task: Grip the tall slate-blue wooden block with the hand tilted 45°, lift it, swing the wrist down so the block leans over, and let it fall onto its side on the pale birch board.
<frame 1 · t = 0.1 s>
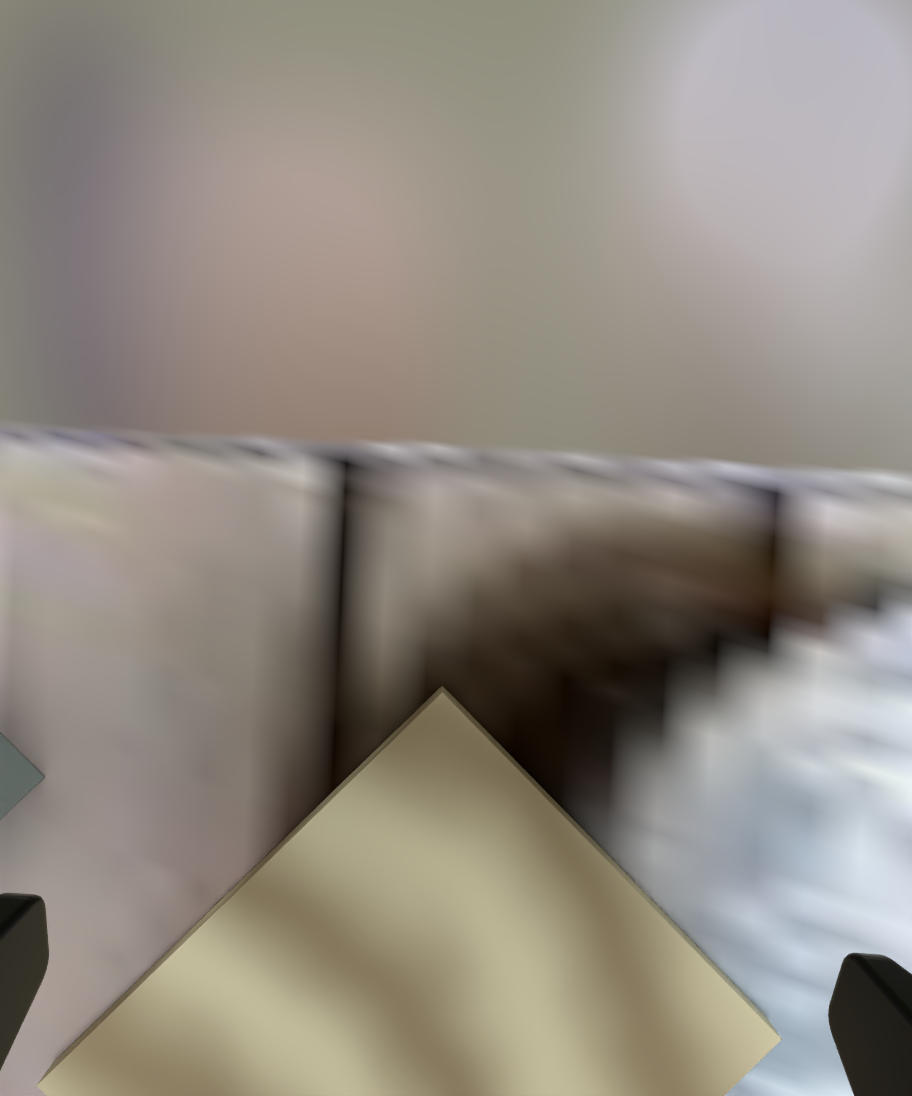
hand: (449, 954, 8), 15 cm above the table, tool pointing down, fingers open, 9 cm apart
birch board: (415, 1039, 23), on the table
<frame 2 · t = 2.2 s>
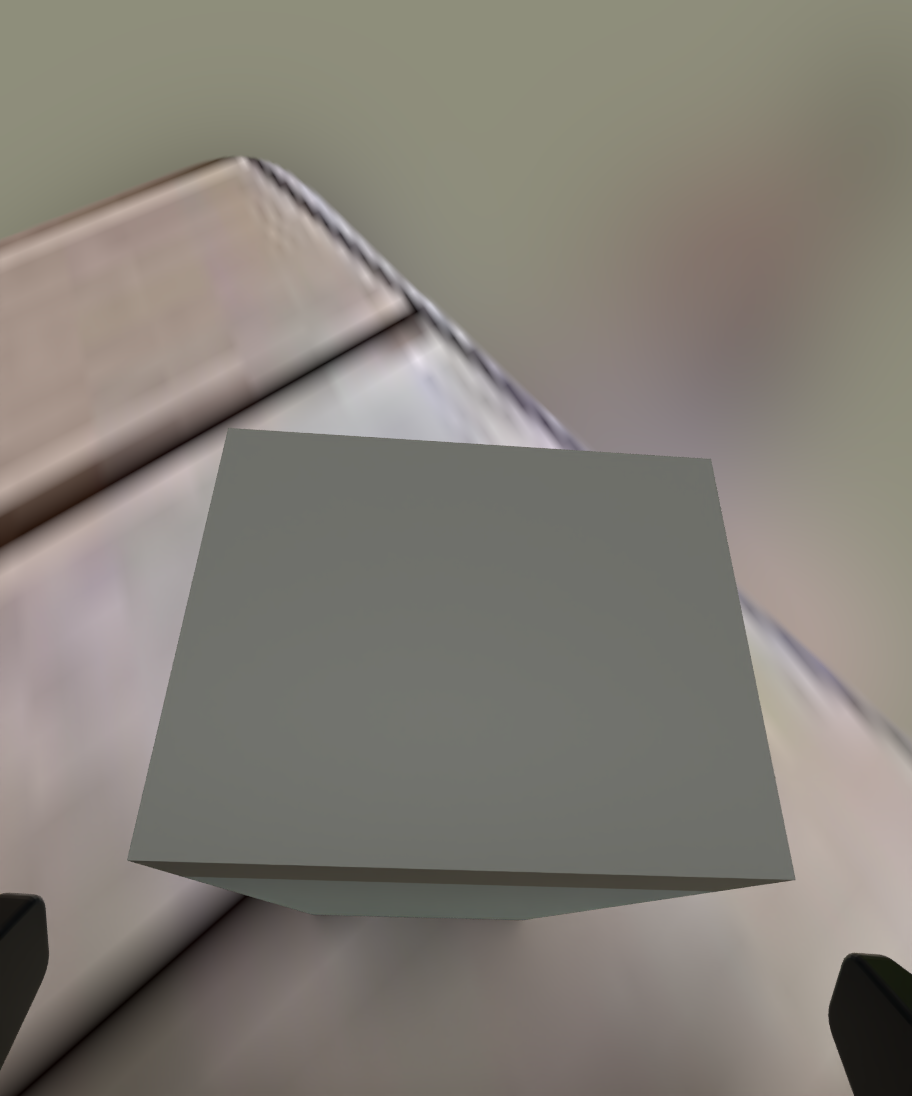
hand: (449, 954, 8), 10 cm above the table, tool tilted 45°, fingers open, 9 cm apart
slate block: (422, 827, 17), on the table
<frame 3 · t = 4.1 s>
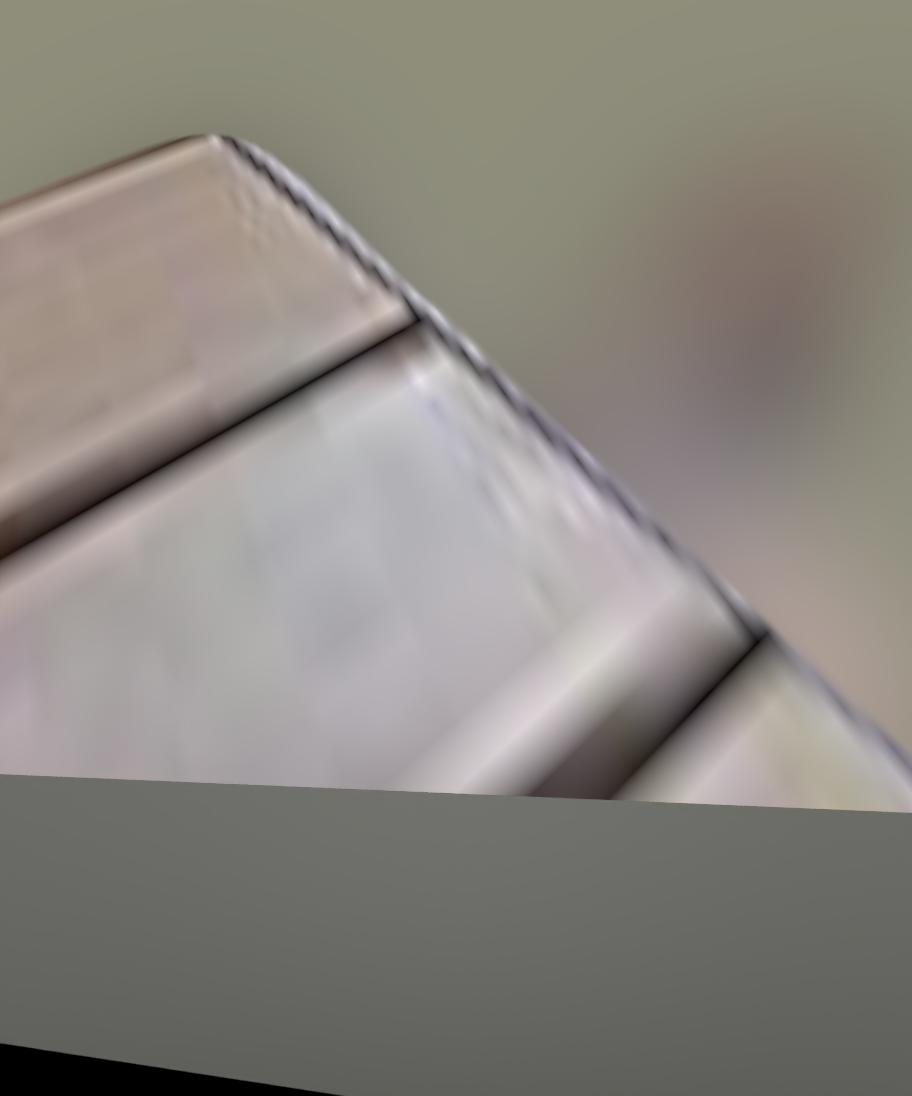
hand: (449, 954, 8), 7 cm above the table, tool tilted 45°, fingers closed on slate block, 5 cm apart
slate block: (421, 1032, 13), on the table, touching gripper
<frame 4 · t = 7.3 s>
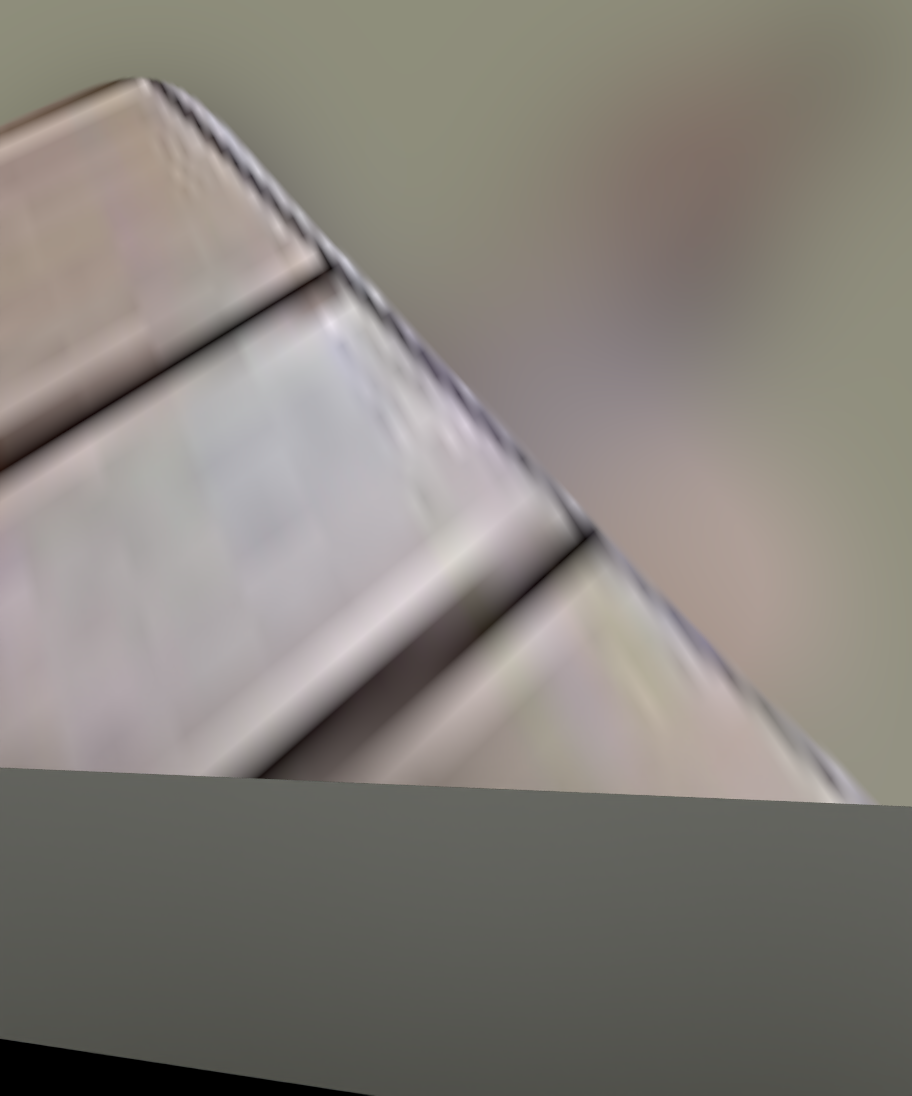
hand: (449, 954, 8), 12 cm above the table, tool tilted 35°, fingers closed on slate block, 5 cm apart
slate block: (421, 1030, 13), point 5 cm above the table, tilted 8°, touching gripper
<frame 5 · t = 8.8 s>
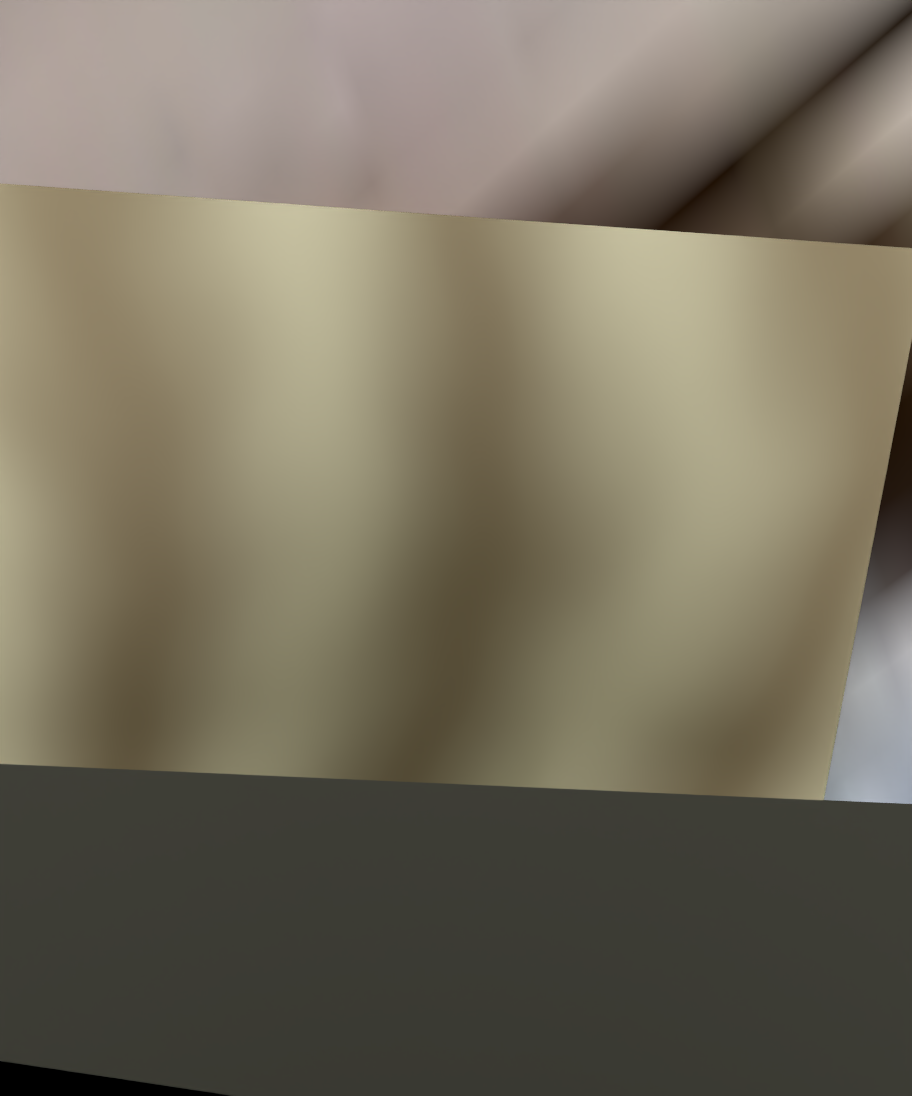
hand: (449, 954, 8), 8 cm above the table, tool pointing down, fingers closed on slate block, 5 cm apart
birch board: (428, 619, 15), on the table
slate block: (422, 1029, 13), point 4 cm above the table, tilted 42°, touching gripper
when the fingers open (7 cm above the table, at t = 10.4 s): slate block moves 2 cm and tips over, resting on birch board.
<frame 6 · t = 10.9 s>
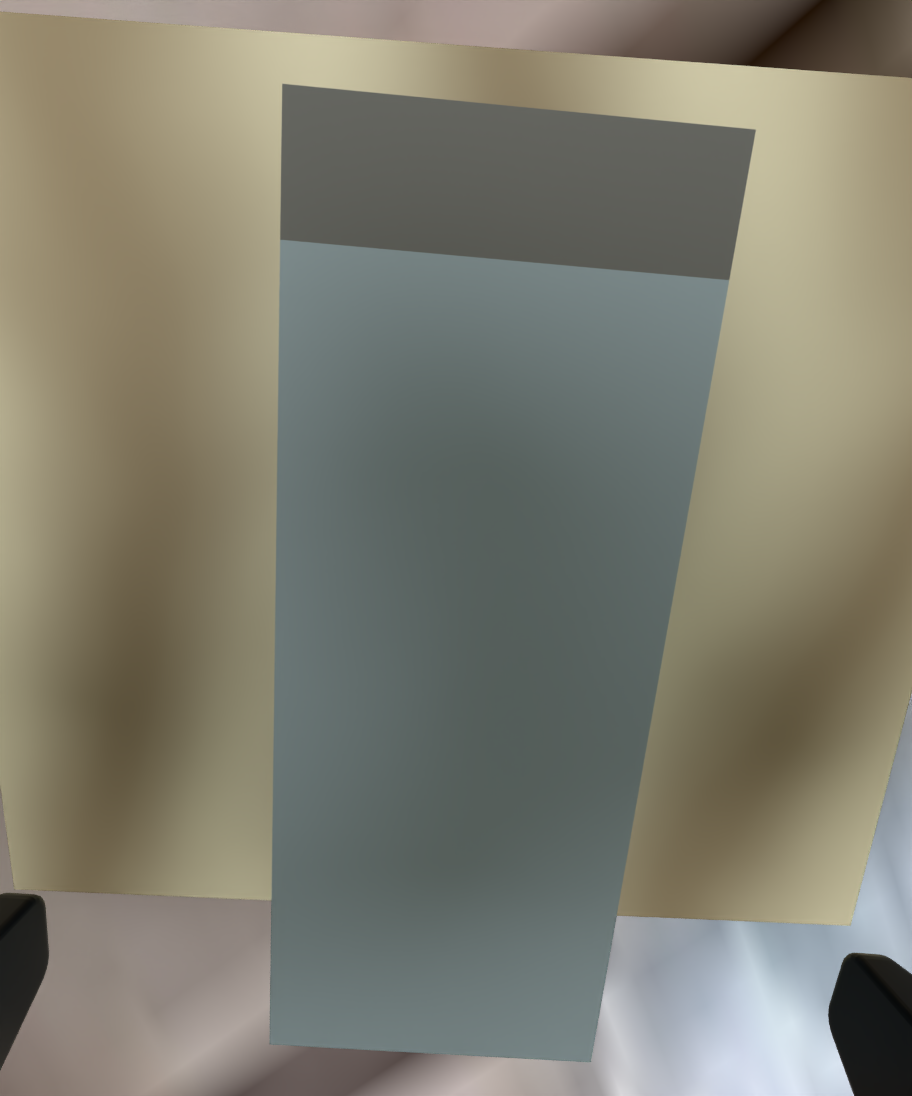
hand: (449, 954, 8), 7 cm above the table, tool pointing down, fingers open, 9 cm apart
birch board: (460, 536, 14), on the table
slate block: (434, 947, 13), point 3 cm above the table, tilted 90°, touching birch board
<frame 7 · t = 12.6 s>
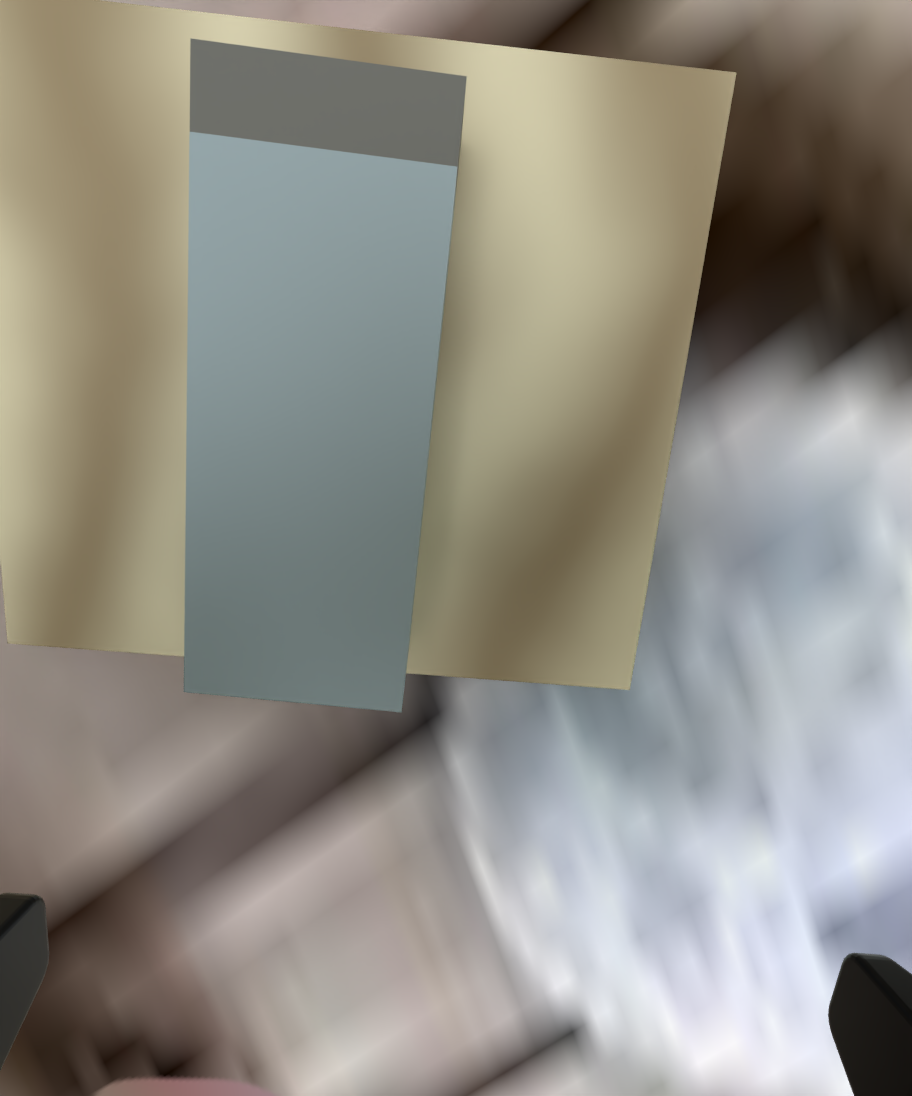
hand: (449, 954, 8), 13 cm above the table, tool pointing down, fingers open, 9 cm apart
birch board: (342, 384, 19), on the table
slate block: (309, 665, 18), point 3 cm above the table, tilted 90°, touching birch board
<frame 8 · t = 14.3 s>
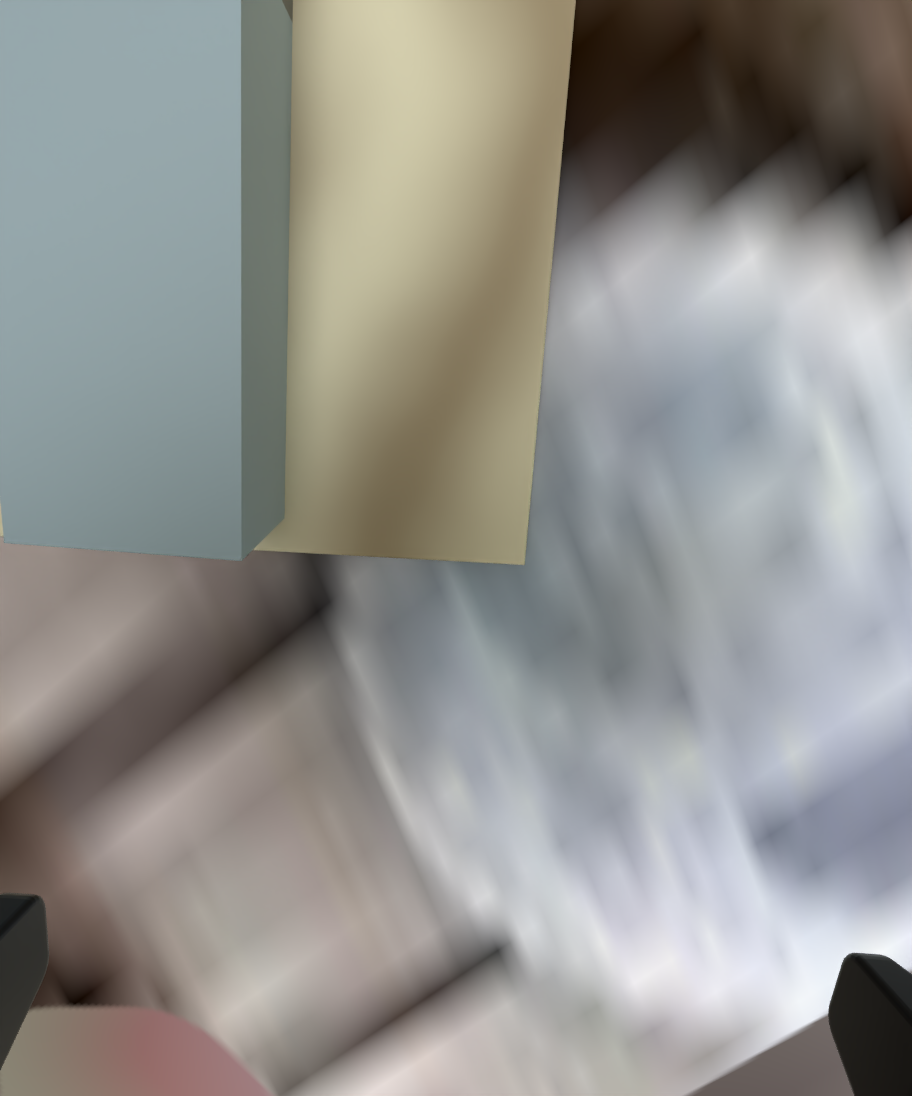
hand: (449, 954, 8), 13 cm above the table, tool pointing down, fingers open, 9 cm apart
birch board: (197, 235, 18), on the table
slate block: (161, 529, 17), point 3 cm above the table, tilted 90°, touching birch board
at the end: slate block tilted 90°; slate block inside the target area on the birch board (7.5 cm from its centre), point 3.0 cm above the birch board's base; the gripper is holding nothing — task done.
